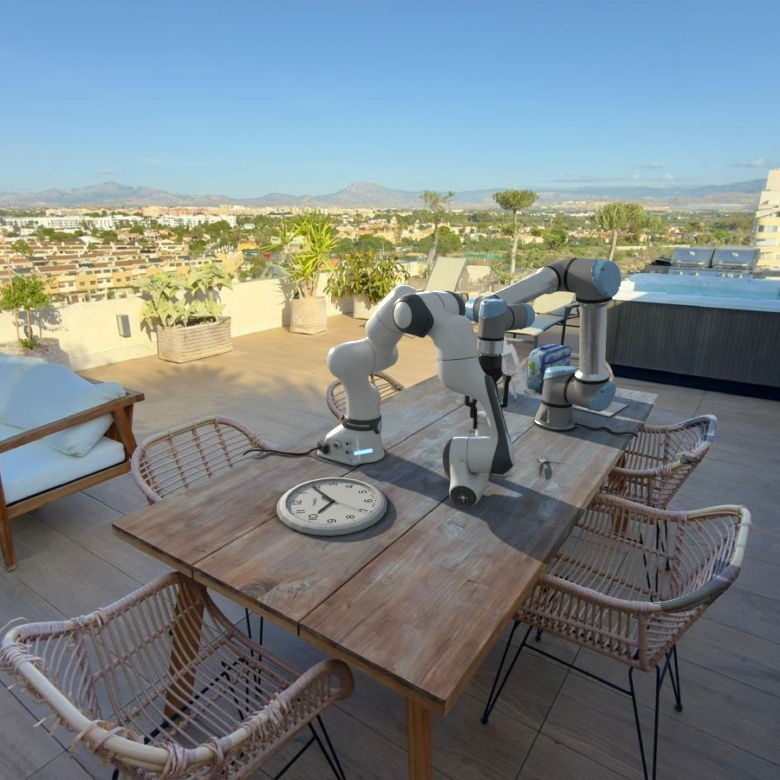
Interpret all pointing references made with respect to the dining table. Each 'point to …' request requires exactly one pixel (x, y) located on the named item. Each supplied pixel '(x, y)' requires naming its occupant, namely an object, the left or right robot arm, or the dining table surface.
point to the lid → (482, 417)
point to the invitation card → (609, 411)
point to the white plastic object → (509, 354)
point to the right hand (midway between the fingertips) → (483, 428)
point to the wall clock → (331, 506)
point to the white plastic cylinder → (482, 429)
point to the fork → (542, 461)
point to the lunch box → (545, 363)
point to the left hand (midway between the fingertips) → (482, 453)
